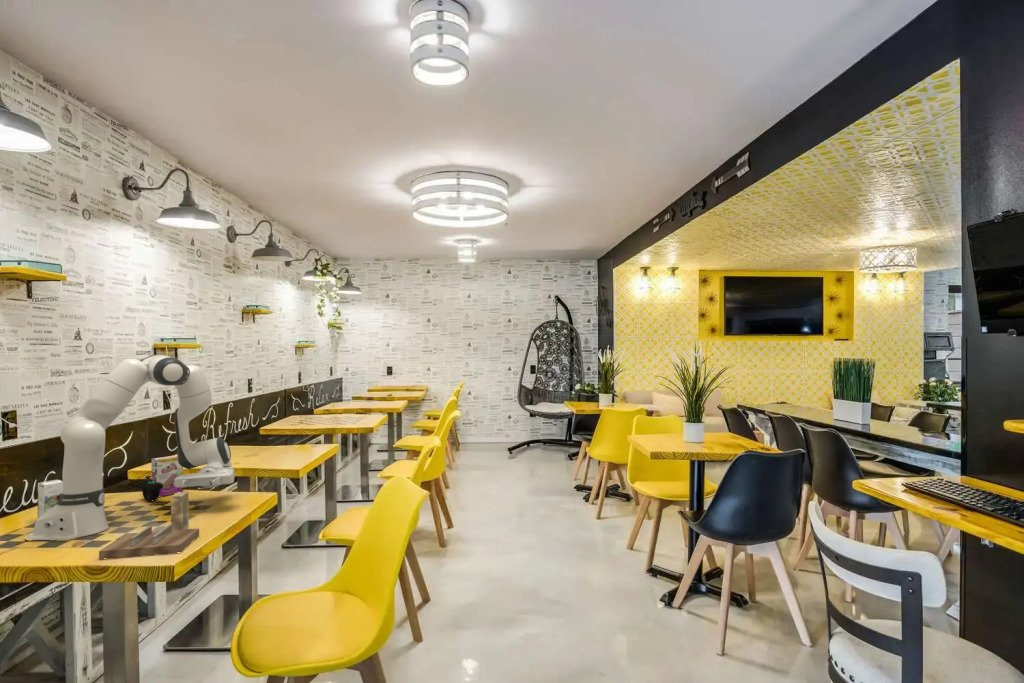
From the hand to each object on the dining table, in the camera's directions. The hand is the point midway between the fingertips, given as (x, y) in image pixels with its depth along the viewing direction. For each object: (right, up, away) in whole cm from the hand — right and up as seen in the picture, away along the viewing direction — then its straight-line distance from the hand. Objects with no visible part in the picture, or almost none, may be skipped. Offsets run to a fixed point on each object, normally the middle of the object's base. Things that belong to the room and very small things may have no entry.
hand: (197, 484), depth 203 cm
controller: (-33, -14, +24) cm, 44 cm away
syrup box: (-55, -14, 0) cm, 57 cm away
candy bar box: (-33, -14, +35) cm, 50 cm away
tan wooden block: (+3, -12, -16) cm, 21 cm away
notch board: (+3, -12, -31) cm, 33 cm away
